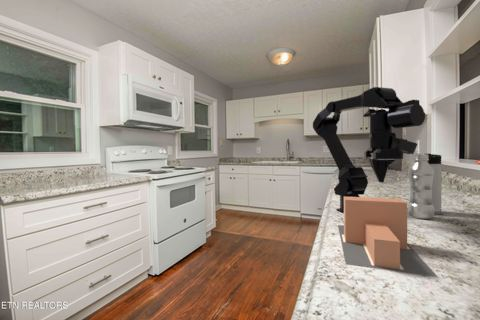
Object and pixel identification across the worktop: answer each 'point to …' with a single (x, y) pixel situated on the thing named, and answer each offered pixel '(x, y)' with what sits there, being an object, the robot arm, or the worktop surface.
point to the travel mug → (436, 181)
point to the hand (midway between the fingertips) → (381, 182)
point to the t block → (377, 227)
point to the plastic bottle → (421, 188)
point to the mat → (361, 257)
